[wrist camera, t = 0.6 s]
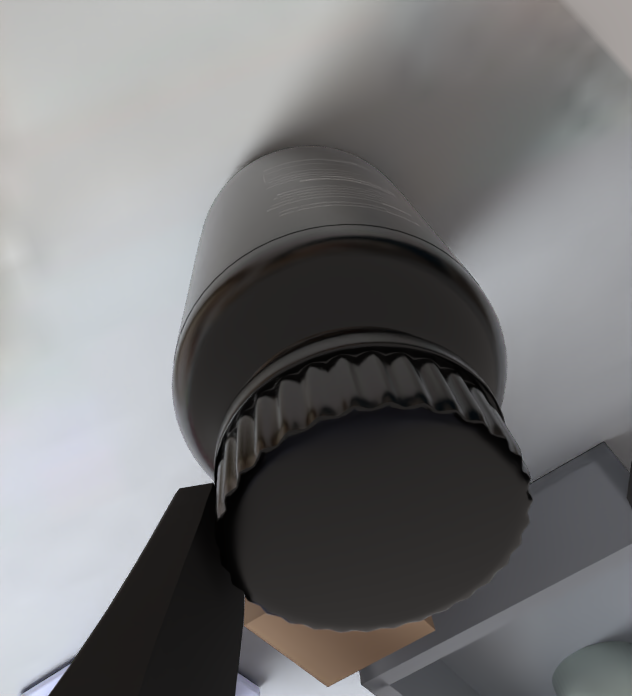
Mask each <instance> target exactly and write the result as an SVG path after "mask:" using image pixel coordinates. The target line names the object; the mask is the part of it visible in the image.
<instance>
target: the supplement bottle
mask: <svg viewBox="0 0 632 696" xmlns="http://www.w3.org/2000/svg"><path fill="white" fill-rule="evenodd" d="M506 378H507V356H506V347H505V342H504V336H503V332H502V329H501V326H500V323H499V320H498V318H497V315H496V313H495V311H494V309H493V307H492V305H491V303H490V302H489V300H488V299H487V297H486V295H485V294H484V292H483V291H482V289H481V288H480V286H479V284H478V283H477V282H476V281H475V279H474V278H473V277H472V276H471V275H470V273H469V272H468V271H467V270H466V268H465V267H464V266H463V265H462V264H461V262H460V261H459V260H458V259H457V258H456V257H455V255H454V254H453V253H452V252H451V251H450V250H449V248H448V247H447V246H446V245H445V244H444V242H443V241H442V240H441V239H440V238H439V237H438V235H437V234H436V233H435V232H434V231H433V230H432V228H431V227H430V226H429V225H428V224H427V223H426V221H425V220H424V219H423V218H422V217H421V216H420V214H419V213H418V212H417V211H416V210H415V209H414V207H413V206H412V205H411V204H410V203H409V202H408V200H407V199H406V198H405V197H404V196H403V195H402V193H401V192H400V191H399V190H398V189H397V188H396V187H395V186H394V185H393V184H392V182H391V181H390V180H389V179H388V178H387V177H386V176H385V175H384V174H383V173H381V172H380V171H379V170H378V169H376V168H375V167H374V166H372V165H371V164H369V163H368V162H366V161H364V160H363V159H361V158H359V157H357V156H355V155H353V154H350V153H347V152H345V151H342V150H338V149H334V148H329V147H322V146H298V147H291V148H286V149H282V150H278V151H275V152H272V153H270V154H267V155H265V156H263V157H261V158H259V159H257V160H255V161H253V162H251V163H250V164H248V165H247V166H245V167H244V168H243V169H241V170H240V171H239V172H238V173H236V174H235V175H234V176H233V177H232V178H231V179H230V180H229V181H228V182H227V184H226V185H225V186H224V187H223V188H222V190H221V191H220V193H219V194H218V195H217V197H216V198H215V200H214V202H213V204H212V206H211V208H210V210H209V212H208V214H207V217H206V219H205V223H204V226H203V230H202V233H201V237H200V240H199V245H198V249H197V254H196V258H195V263H194V267H193V272H192V277H191V281H190V286H189V290H188V295H187V299H186V304H185V308H184V313H183V318H182V322H181V327H180V331H179V336H178V341H177V346H176V351H175V357H174V365H173V377H172V395H173V404H174V409H175V414H176V419H177V422H178V425H179V428H180V431H181V433H182V436H183V438H184V440H185V442H186V444H187V446H188V448H189V450H190V451H191V453H192V455H193V456H194V458H195V459H196V461H197V462H198V463H199V465H200V466H201V467H202V469H203V470H204V471H205V472H206V473H207V474H208V475H209V477H210V478H211V479H212V480H213V481H214V483H215V489H216V506H215V512H216V514H215V530H214V535H215V541H216V544H217V546H218V547H219V549H220V561H221V565H222V566H223V567H224V568H225V569H226V570H227V571H228V572H229V573H230V577H231V582H232V584H233V585H234V586H235V587H237V588H238V589H240V590H242V591H243V592H244V594H245V597H246V599H247V601H249V602H251V603H254V604H256V605H259V606H261V608H262V609H263V610H264V611H265V612H266V613H267V614H269V615H273V616H278V617H281V618H283V619H284V620H285V621H287V622H288V623H290V624H300V625H305V626H307V627H309V628H312V629H314V630H324V629H329V630H333V631H336V632H340V633H342V632H349V631H362V632H370V631H374V630H377V629H381V628H397V627H399V626H402V625H404V624H406V623H412V622H419V621H422V620H424V619H426V618H427V617H429V616H431V615H433V614H437V613H441V612H444V611H447V610H448V609H450V608H451V607H452V606H453V605H455V604H456V603H458V602H461V601H463V600H466V599H468V598H470V597H471V596H472V595H473V594H474V593H475V591H476V590H477V589H479V588H481V587H483V586H484V585H486V584H488V583H490V582H491V581H492V579H493V578H494V576H495V574H496V573H497V572H498V571H499V570H501V569H502V568H503V567H505V566H506V565H507V564H508V563H509V560H510V556H511V554H512V553H513V552H514V551H515V550H516V549H517V548H518V547H519V546H520V545H521V543H522V533H523V532H524V531H525V529H526V528H527V526H528V525H529V523H530V519H529V515H528V511H529V509H530V507H531V505H532V502H533V498H532V494H531V492H530V490H529V485H530V479H531V477H530V474H529V471H528V468H527V466H526V465H525V463H524V461H523V460H522V455H521V451H520V448H519V446H518V444H517V443H516V441H515V439H514V438H513V436H512V435H511V433H510V431H509V430H508V428H507V427H506V425H505V421H504V417H503V414H502V411H501V406H502V402H503V398H504V393H505V386H506Z"/></svg>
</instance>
